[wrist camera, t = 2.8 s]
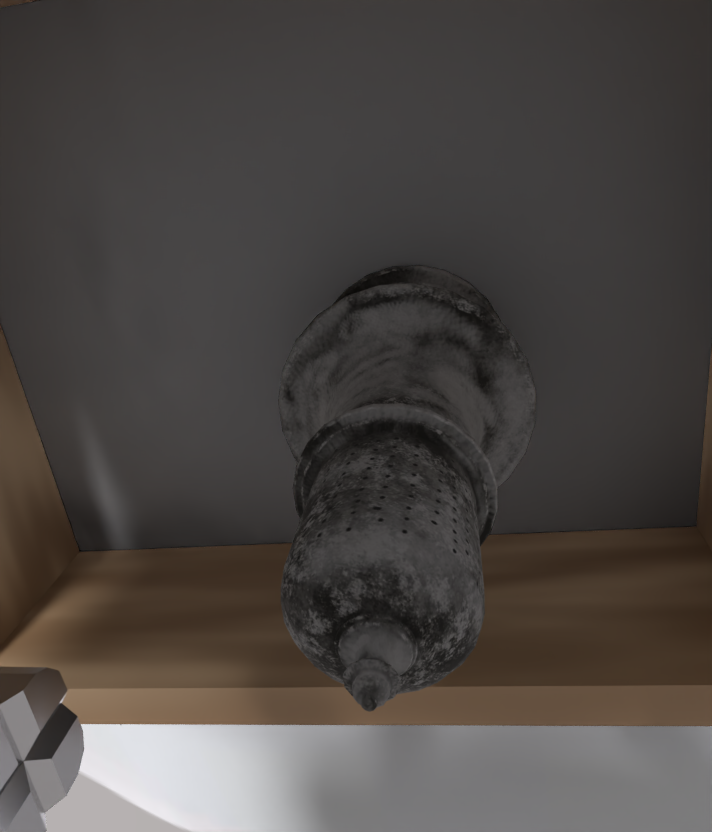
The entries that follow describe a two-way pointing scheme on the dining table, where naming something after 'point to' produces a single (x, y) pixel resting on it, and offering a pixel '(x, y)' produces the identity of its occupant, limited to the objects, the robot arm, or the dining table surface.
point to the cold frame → (294, 673)
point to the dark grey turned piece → (398, 476)
